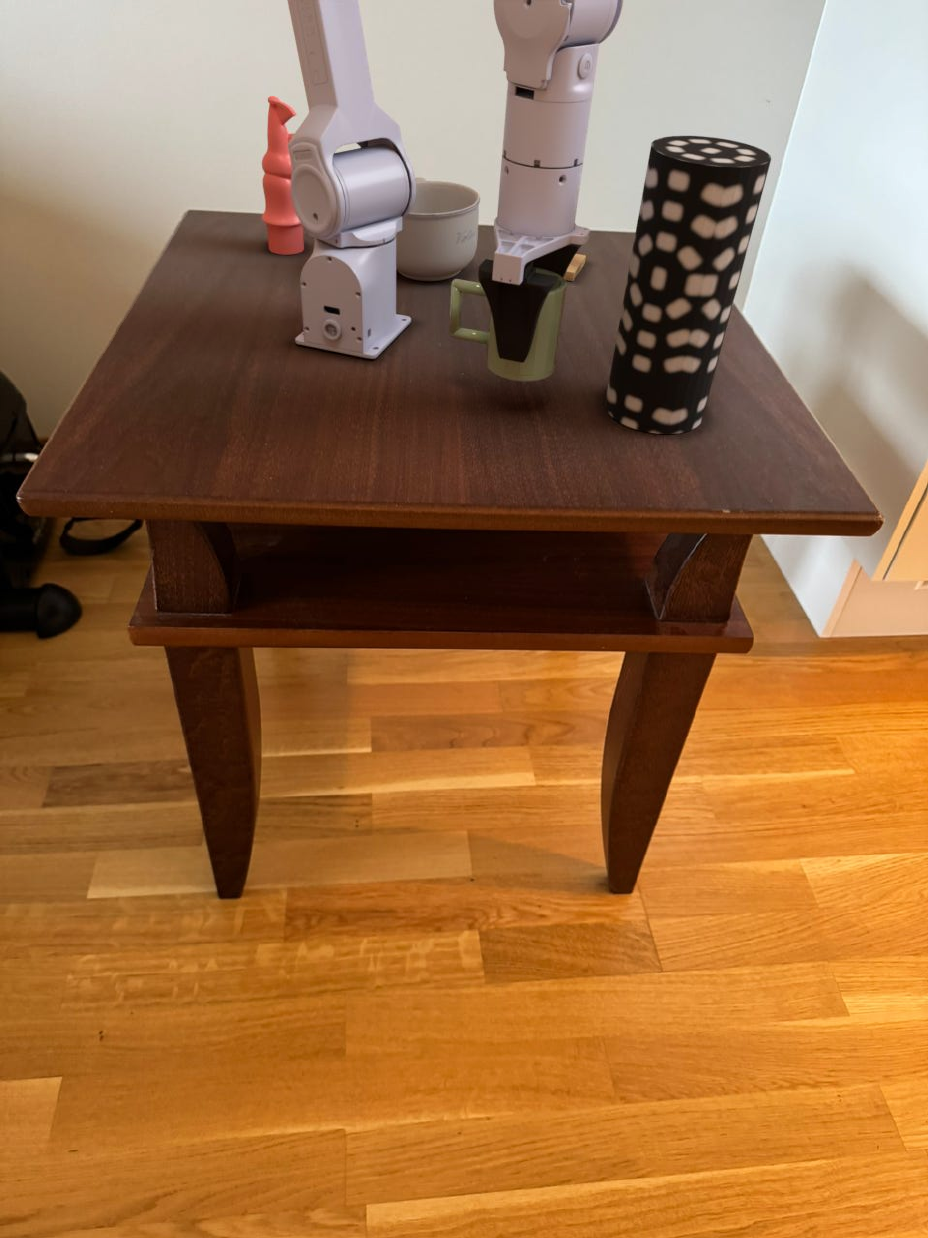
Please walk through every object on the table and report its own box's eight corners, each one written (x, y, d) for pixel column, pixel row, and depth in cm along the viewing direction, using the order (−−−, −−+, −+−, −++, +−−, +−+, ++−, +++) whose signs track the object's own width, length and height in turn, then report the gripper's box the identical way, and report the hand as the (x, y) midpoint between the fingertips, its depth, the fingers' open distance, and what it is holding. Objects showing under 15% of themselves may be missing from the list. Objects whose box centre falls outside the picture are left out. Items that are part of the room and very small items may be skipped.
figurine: (320, 247, 99) (312, 96, 89) (290, 259, 96) (278, 104, 86) (285, 237, 101) (273, 88, 91) (255, 249, 98) (239, 95, 88)
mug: (561, 358, 73) (573, 273, 68) (545, 387, 69) (556, 299, 64) (459, 338, 74) (463, 254, 70) (437, 365, 70) (440, 277, 66)
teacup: (474, 293, 91) (480, 212, 86) (371, 286, 91) (370, 205, 86) (476, 247, 102) (480, 173, 97) (383, 242, 102) (383, 167, 96)
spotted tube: (636, 378, 78) (686, 129, 65) (719, 410, 75) (790, 153, 62) (585, 409, 73) (628, 147, 60) (672, 445, 70) (738, 174, 57)
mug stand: (559, 302, 91) (569, 222, 86) (504, 292, 92) (511, 212, 87) (584, 264, 100) (595, 189, 95) (534, 255, 101) (542, 180, 96)
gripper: (575, 193, 55) (548, 391, 64) (618, 142, 65) (590, 319, 74) (469, 176, 56) (457, 373, 65) (527, 129, 67) (511, 304, 76)
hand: (522, 343), depth 70 cm, fingers closed on mug, 5 cm apart
